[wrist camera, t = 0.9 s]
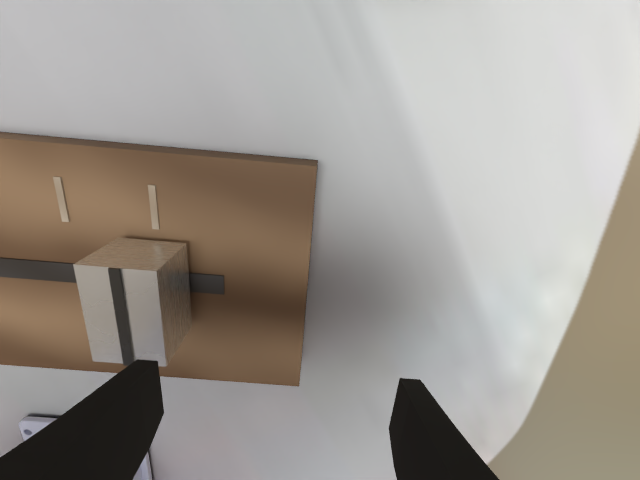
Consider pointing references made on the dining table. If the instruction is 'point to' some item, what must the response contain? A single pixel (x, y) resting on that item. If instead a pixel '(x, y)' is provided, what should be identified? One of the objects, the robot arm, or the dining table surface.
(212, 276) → the fader console
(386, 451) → the dining table surface
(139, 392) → the robot arm
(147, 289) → the fader knob
